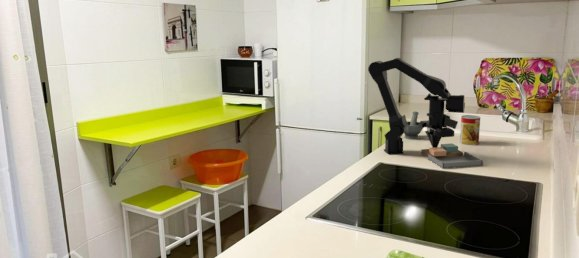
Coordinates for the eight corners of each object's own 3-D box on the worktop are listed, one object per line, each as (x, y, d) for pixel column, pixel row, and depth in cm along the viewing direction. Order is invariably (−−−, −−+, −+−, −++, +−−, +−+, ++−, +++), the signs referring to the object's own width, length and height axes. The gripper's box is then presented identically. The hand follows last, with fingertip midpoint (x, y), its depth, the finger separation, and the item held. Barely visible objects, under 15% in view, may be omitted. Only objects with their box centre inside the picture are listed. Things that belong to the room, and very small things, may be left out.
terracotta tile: (433, 156, 176) (434, 151, 176) (429, 152, 181) (429, 147, 181) (446, 155, 177) (446, 150, 176) (441, 151, 181) (441, 147, 181)
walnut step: (429, 159, 179) (430, 154, 178) (421, 153, 186) (421, 149, 186) (462, 156, 181) (462, 152, 180) (452, 151, 188) (452, 147, 188)
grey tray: (442, 168, 167) (442, 163, 166) (427, 159, 178) (428, 154, 178) (482, 165, 169) (482, 160, 169) (465, 156, 181) (465, 151, 180)
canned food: (480, 145, 197) (482, 118, 194) (461, 144, 198) (462, 118, 196) (476, 140, 204) (478, 115, 202) (458, 140, 206) (459, 114, 203)
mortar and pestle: (417, 141, 207) (418, 115, 204) (398, 138, 212) (398, 113, 209) (425, 136, 216) (426, 111, 213) (406, 133, 221) (406, 109, 218)
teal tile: (446, 152, 181) (446, 147, 181) (440, 148, 186) (440, 144, 186) (457, 151, 182) (458, 146, 182) (451, 148, 187) (452, 143, 187)
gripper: (468, 114, 171) (465, 153, 174) (443, 106, 189) (441, 142, 192) (440, 116, 169) (439, 156, 172) (418, 107, 187) (417, 144, 190)
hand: (434, 149), depth 182 cm, fingers closed
